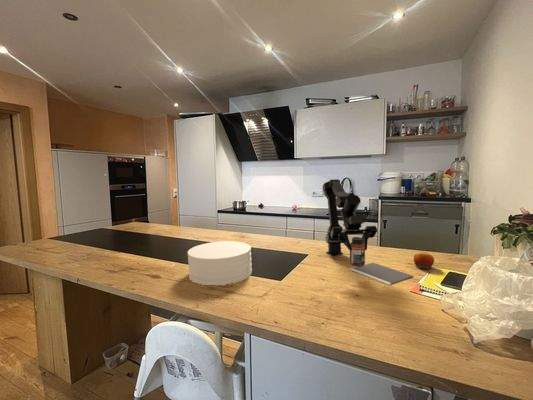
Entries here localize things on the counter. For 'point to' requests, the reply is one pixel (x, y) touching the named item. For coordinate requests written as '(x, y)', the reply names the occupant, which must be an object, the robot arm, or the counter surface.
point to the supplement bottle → (357, 252)
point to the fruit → (423, 260)
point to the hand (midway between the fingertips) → (358, 250)
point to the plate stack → (219, 263)
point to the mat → (381, 273)
